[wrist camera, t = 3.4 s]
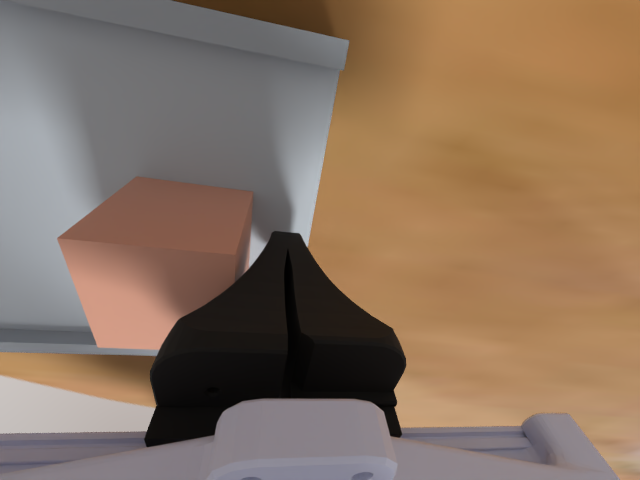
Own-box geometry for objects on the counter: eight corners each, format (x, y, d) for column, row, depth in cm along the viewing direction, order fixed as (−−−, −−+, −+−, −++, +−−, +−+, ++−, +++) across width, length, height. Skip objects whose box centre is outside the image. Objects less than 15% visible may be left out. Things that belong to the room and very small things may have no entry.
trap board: (289, 322, 19) (288, 368, 17) (-107, 303, 16) (-195, 358, 13) (336, 43, 11) (352, 39, 8) (-496, -141, 7) (-1002, -268, 4)
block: (248, 274, 14) (233, 352, 10) (152, 266, 13) (97, 347, 10) (253, 191, 12) (235, 255, 8) (136, 176, 11) (56, 238, 7)
